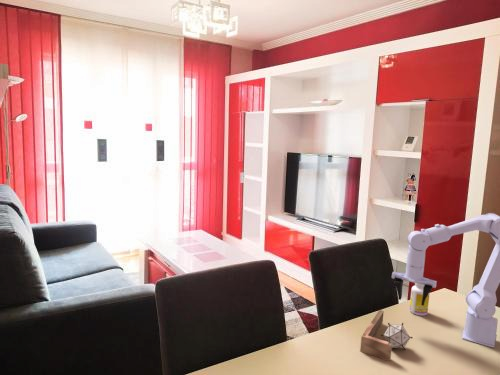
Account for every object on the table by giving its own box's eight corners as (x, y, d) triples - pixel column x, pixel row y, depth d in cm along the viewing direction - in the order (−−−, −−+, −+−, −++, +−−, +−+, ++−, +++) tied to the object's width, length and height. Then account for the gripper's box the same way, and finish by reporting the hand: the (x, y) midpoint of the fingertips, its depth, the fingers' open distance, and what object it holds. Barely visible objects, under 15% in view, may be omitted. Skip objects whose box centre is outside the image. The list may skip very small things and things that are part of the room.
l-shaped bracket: (403, 330, 134) (405, 316, 134) (389, 361, 115) (391, 345, 114) (378, 322, 139) (379, 309, 138) (360, 351, 119) (361, 335, 119)
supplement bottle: (431, 315, 148) (434, 283, 146) (418, 317, 145) (422, 285, 143) (417, 307, 154) (421, 277, 152) (405, 309, 151) (408, 279, 149)
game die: (399, 361, 121) (411, 349, 114) (374, 345, 124) (384, 332, 117) (407, 339, 127) (419, 326, 120) (383, 325, 130) (393, 311, 123)
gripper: (391, 263, 133) (387, 299, 135) (436, 273, 125) (432, 311, 127) (395, 258, 139) (391, 293, 141) (438, 267, 131) (434, 304, 133)
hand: (411, 301), depth 134 cm, fingers open, 7 cm apart
